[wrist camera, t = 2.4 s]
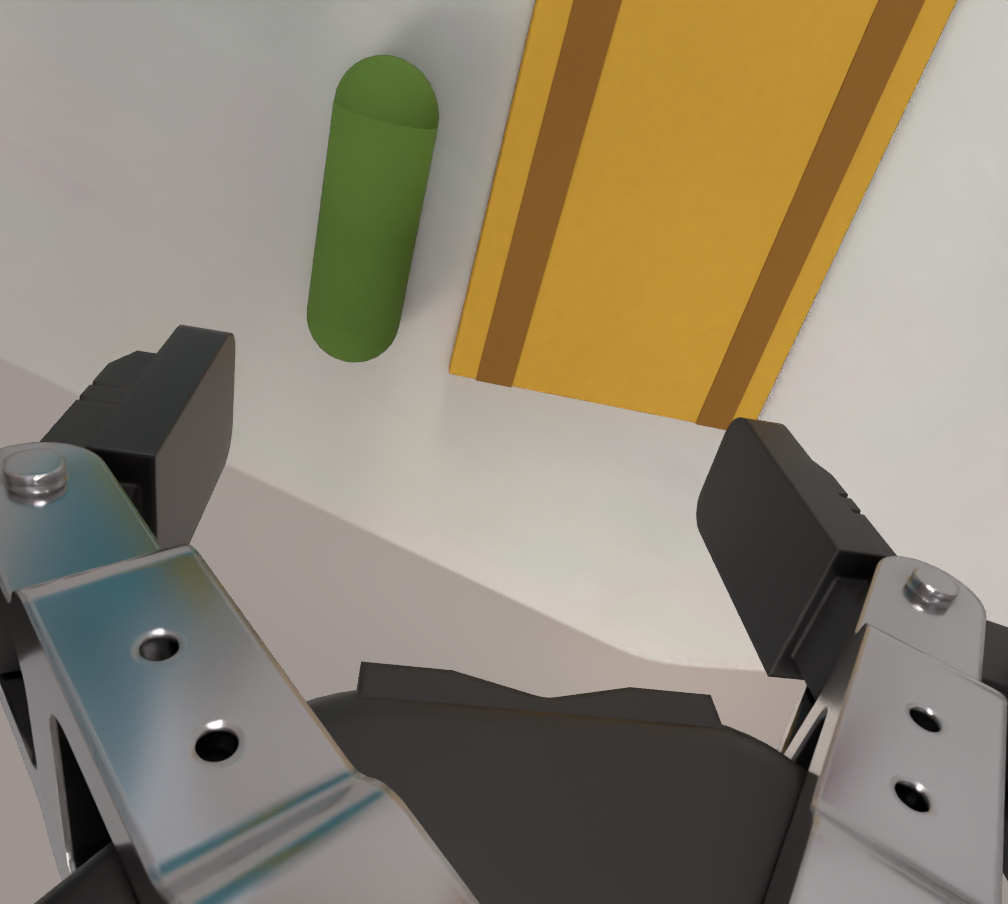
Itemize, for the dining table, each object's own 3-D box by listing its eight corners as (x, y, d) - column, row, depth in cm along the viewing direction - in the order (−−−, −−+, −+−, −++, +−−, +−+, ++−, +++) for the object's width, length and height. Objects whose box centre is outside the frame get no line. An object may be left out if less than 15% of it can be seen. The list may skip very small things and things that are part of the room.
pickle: (309, 331, 32) (294, 367, 29) (347, 38, 27) (334, 45, 24) (393, 348, 33) (388, 385, 30) (448, 66, 27) (448, 76, 24)
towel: (448, 368, 33) (448, 374, 33) (604, -290, 23) (608, -298, 22) (746, 427, 36) (750, 435, 35) (1012, -136, 25) (1026, -139, 25)
